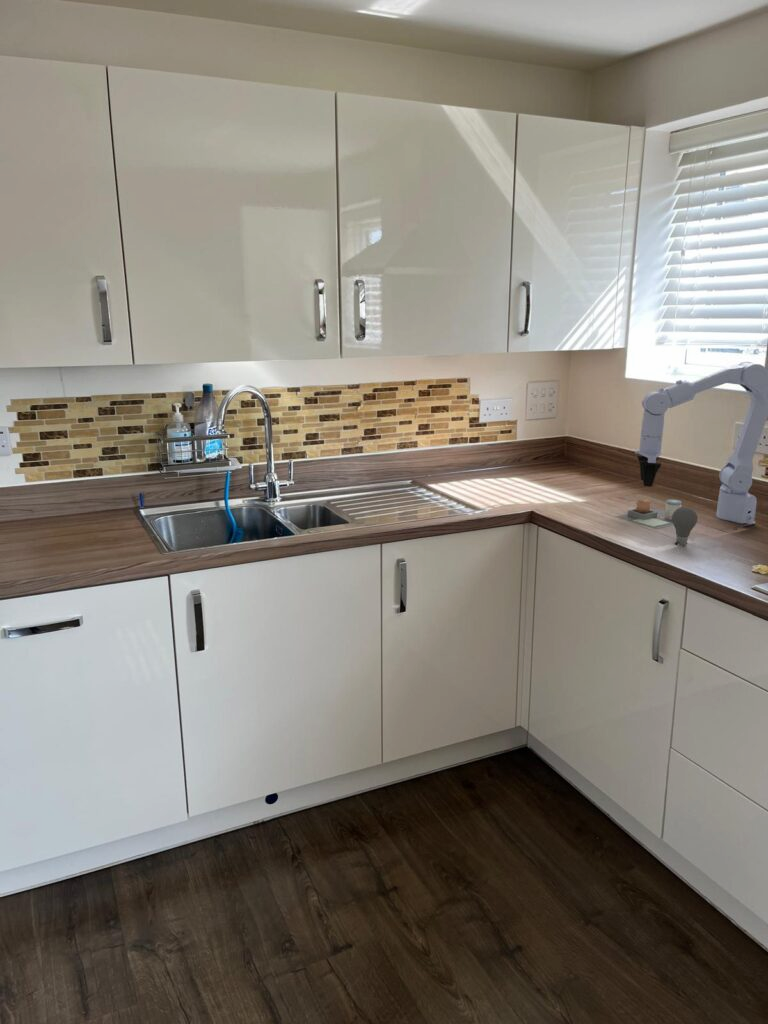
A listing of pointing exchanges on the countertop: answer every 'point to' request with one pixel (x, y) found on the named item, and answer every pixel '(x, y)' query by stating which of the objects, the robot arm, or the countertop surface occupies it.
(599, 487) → the countertop surface
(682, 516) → the light bulb
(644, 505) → the orange round piece
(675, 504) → the cartridge
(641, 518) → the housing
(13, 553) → the countertop surface
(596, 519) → the countertop surface
